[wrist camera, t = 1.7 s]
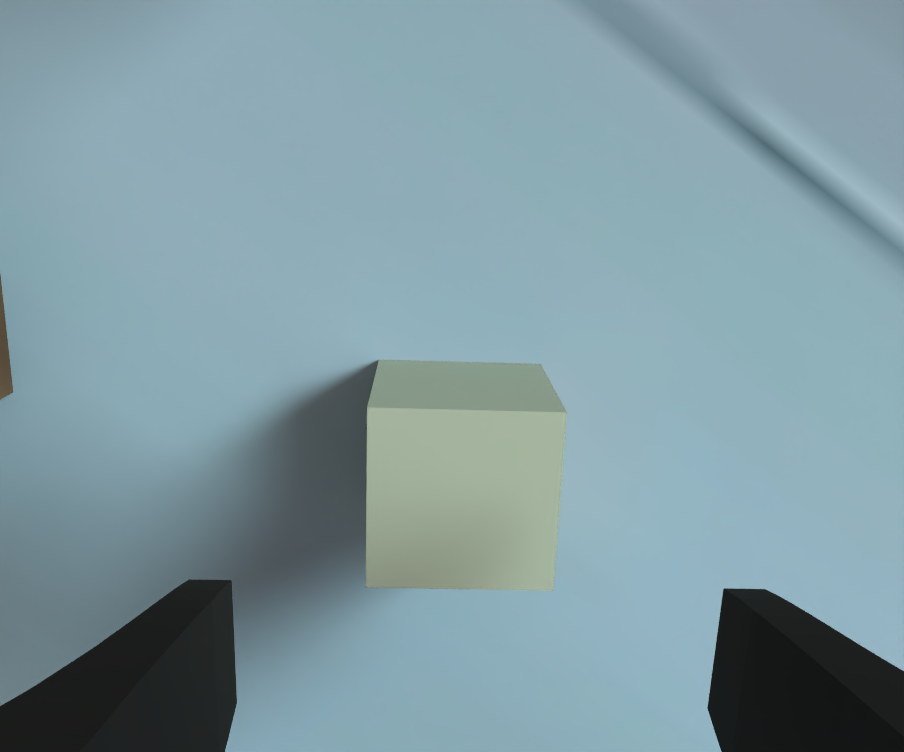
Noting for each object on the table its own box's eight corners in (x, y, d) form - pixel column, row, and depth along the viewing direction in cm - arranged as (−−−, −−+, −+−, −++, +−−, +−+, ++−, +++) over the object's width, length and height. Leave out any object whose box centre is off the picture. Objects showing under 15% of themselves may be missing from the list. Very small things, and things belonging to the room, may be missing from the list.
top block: (530, 511, 21) (553, 590, 17) (377, 508, 21) (365, 587, 17) (540, 363, 20) (566, 412, 16) (378, 358, 20) (367, 407, 16)
